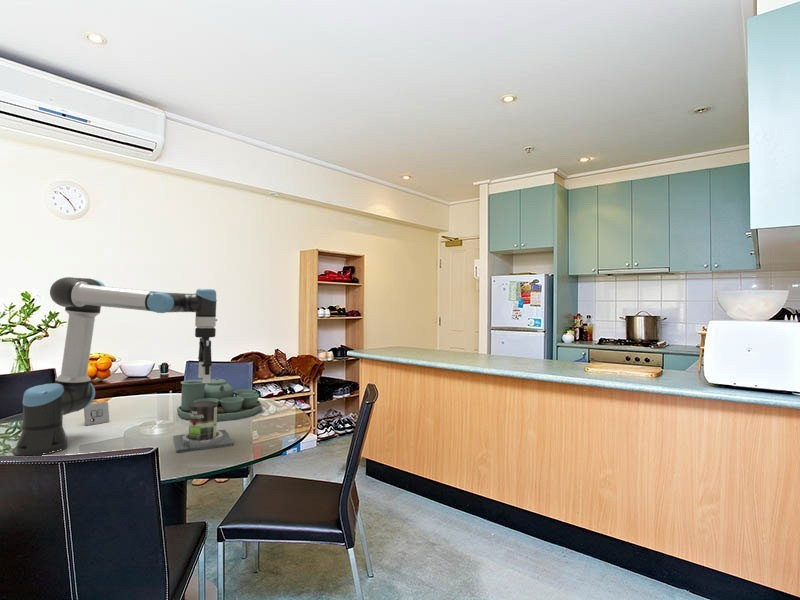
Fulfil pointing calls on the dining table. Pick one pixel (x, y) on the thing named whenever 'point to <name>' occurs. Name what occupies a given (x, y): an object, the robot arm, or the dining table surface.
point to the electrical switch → (96, 413)
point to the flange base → (202, 442)
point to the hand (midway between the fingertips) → (204, 380)
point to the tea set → (219, 399)
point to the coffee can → (203, 420)
